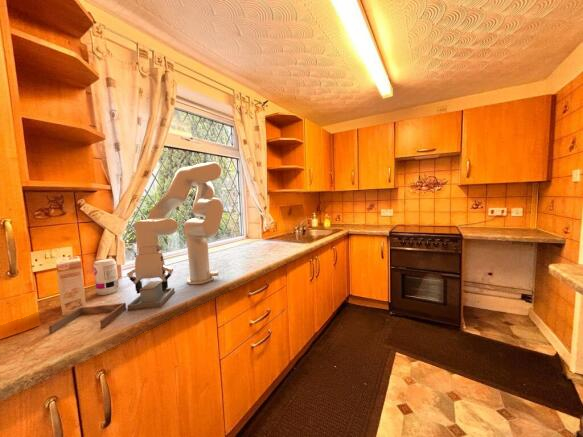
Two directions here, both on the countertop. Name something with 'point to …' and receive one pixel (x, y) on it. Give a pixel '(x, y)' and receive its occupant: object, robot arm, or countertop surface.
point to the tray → (138, 305)
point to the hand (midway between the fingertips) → (152, 291)
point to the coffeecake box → (70, 284)
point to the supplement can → (106, 276)
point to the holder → (115, 309)
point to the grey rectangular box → (151, 292)
